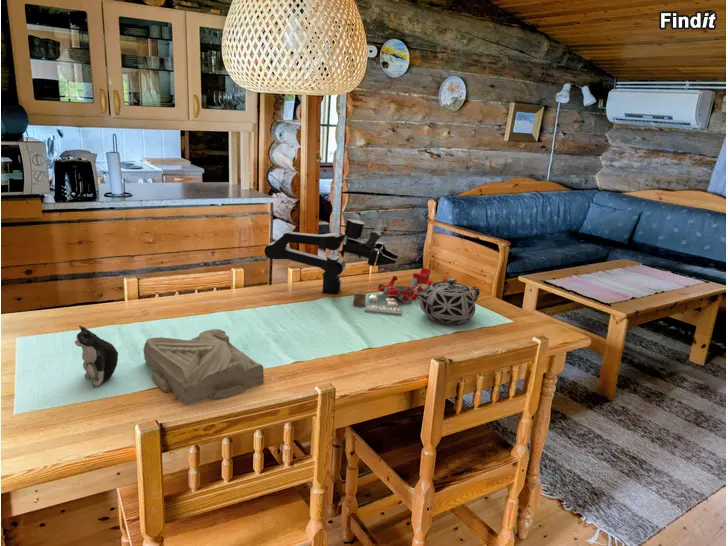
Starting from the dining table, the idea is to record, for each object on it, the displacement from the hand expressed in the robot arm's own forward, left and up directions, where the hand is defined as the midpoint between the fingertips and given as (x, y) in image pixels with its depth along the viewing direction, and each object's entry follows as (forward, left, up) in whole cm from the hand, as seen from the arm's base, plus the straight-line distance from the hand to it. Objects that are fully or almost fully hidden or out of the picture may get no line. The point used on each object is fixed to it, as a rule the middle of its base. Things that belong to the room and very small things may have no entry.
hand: (396, 259), depth 216 cm
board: (-3, -16, -16) cm, 22 cm away
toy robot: (+7, +6, -16) cm, 19 cm away
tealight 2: (-1, -6, -16) cm, 17 cm away
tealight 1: (-7, -6, -16) cm, 18 cm away
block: (-12, -11, -16) cm, 23 cm away
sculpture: (-46, -78, -16) cm, 92 cm away
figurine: (-70, -88, -16) cm, 114 cm away
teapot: (+20, -17, -16) cm, 31 cm away
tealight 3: (0, -10, -16) cm, 19 cm away
